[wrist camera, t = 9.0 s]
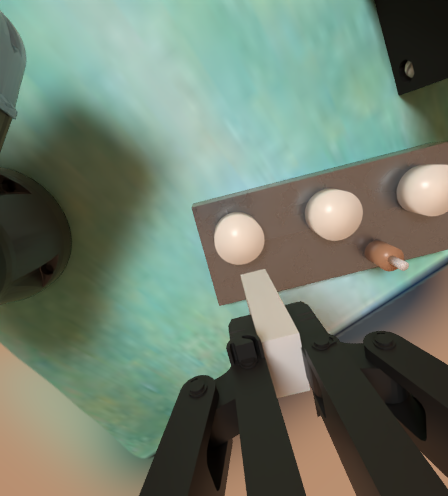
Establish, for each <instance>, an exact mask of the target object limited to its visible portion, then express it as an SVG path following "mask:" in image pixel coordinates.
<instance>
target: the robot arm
mask: <svg viewBox="0 0 448 496" xmlns="http://www.w3.org/2000/svg"><path fill="white" fill-rule="evenodd" d="M25 67H26V51H25V47H24V44H23V41H22V39H21V37H20V35H19V33H18V32H17V30H16V29H15V27H14V26H13V24H12V23H11V22H10V20H9V19H8V18H7V17H6V16H5V15H4V14H3V13H2V12H1V11H0V152H1V149H2V146H3V144H4V141H5V138H6V135H7V132H8V129H9V127H10V124H11V121H12V118H13V119H16V117H17V111H16V109H15V106H16V102H17V98H18V94H19V89H20V85H21V82H22V78H23V75H24V71H25ZM70 252H71V233H70V228H69V225H68V222H67V219H66V217H65V215H64V213H63V211H62V209H61V207H60V206H59V204H58V203H57V202H56V200H55V199H54V198H53V197H52V196H51V194H50V193H49V192H48V191H47V190H45V189H44V188H43V187H42V186H41V185H40V184H38V183H37V182H35V181H34V180H32V179H31V178H29V177H27V176H25V175H23V174H21V173H19V172H16V171H13V170H10V169H6V168H2V167H0V305H2V304H6V303H10V302H14V301H18V300H22V299H25V298H28V297H30V296H33V295H35V294H37V293H39V292H40V291H42V290H43V289H44V288H46V287H47V286H48V285H50V284H51V283H52V282H54V281H55V280H56V279H57V278H58V277H59V276H60V275H61V273H62V272H63V270H64V269H65V267H66V265H67V263H68V260H69V257H70ZM240 276H241V280H242V284H243V288H244V292H245V296H246V300H247V304H248V308H249V312H250V315H247V316H243V317H239V318H235V319H232V320H231V322H230V324H229V326H228V327H229V335H230V341H229V342H228V343H227V348H226V349H227V352H228V356H229V359H230V363H231V367H230V369H229V370H228V371H227V372H226V373H225V374H224V375H222V376H221V377H219V378H217V379H215V380H213V378H211V377H210V376H206V375H200V376H196V377H194V378H192V379H190V380H188V381H187V382H186V383H185V384H184V385H183V387H182V389H181V390H180V393H179V396H178V398H177V401H176V403H175V406H174V408H173V411H172V413H171V416H170V418H169V421H168V424H167V426H166V429H165V431H164V434H163V436H162V439H161V441H160V444H159V446H158V449H157V451H156V454H155V457H154V459H153V462H152V464H151V467H150V469H149V472H148V475H147V477H146V479H145V482H144V485H143V487H142V490H141V492H140V495H139V496H224V495H225V489H226V482H227V476H228V469H229V461H230V456H231V449H232V438H233V437H235V436H236V435H238V434H240V440H241V449H242V457H243V466H244V473H245V482H246V491H247V496H306V494H305V490H304V487H303V483H302V480H301V477H300V473H299V470H298V467H297V463H296V460H295V456H294V453H293V450H292V446H291V443H290V440H289V436H288V433H287V430H286V426H285V423H284V420H283V416H282V413H281V409H280V406H279V403H278V399H277V398H281V397H285V396H289V395H293V394H298V393H301V392H306V391H310V387H309V384H310V386H311V388H312V390H313V395H314V399H315V405H316V410H317V415H318V416H320V414H321V417H322V419H323V421H324V423H325V425H326V428H327V430H328V432H329V434H330V437H331V439H332V441H333V444H334V446H335V448H336V450H337V453H338V455H339V457H340V460H341V462H342V464H343V466H344V469H345V471H346V473H347V475H348V477H349V480H350V482H351V484H352V486H353V489H354V491H355V493H356V496H448V489H447V488H446V486H445V485H444V483H443V482H442V480H441V479H440V478H439V476H438V475H437V474H436V472H435V471H434V470H433V468H432V467H431V465H430V464H429V463H428V461H427V460H426V459H425V457H424V456H423V454H424V455H425V456H426V457H427V458H428V459H429V460H430V461H431V462H432V463H433V464H434V465H435V466H436V467H437V468H438V469H439V470H440V471H441V472H442V473H443V474H444V475H445V476H447V477H448V365H447V364H445V363H444V362H442V361H440V360H439V359H437V358H435V357H434V356H432V355H430V354H429V353H427V352H425V351H424V350H422V349H420V348H419V347H417V346H415V345H414V344H412V343H410V342H409V341H407V340H405V339H404V338H402V337H400V336H399V335H396V334H394V333H391V332H386V331H376V332H372V333H369V334H368V335H366V336H365V338H364V340H363V344H362V343H361V344H360V343H359V344H350V343H343V342H340V341H339V339H337V338H336V337H335V336H333V335H331V334H328V333H327V331H326V330H325V328H324V327H323V326H322V324H321V323H320V321H319V320H318V318H317V317H316V316H315V314H314V313H313V311H312V310H311V308H310V307H309V306H308V305H307V304H305V303H303V302H301V301H300V302H296V303H292V304H288V305H284V304H283V302H282V300H281V298H280V296H279V294H278V292H277V290H276V289H275V287H274V285H273V283H272V281H271V279H270V277H269V275H268V274H267V272H266V270H265V269H262V270H258V271H254V272H250V273H246V274H242V275H240ZM420 451H421V452H422V453H423V454H422V453H421V452H420Z"/></svg>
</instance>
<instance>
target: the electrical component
mask: <svg viewBox="0 0 448 496" xmlns="http://www.w3.org/2000/svg"><path fill="white" fill-rule="evenodd" d="M374 1H375V5H376V9H377V13H378V17H379V20H380V24H381V28H382V32H383V36H384V40H385V44H386V48H387V52H388V56H389V59H390V63H391V67H392V71H393V75H394V79H395V83H396V87H397V91H398V95H402V94H404V93H407V92H410V91H413V90H416V89H419V88H421V87H424V86H427V85H430V84H433V83H436V82H438V81H441V80H444V79H447V78H448V0H374Z"/></svg>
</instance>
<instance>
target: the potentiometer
mask: <svg viewBox="0 0 448 496" xmlns="http://www.w3.org/2000/svg"><path fill="white" fill-rule="evenodd" d="M365 257H366V258H367V260H369V261H371V262H372V263H374V264H375V265H377V266H379V267H380V268H382V269H384V270H386V271H394V270H396V269H398V268H399V269H400V270H403V271H404V270H406V269H408V267H409V264H408V263H407V262H405V261H403V260H404V254H403V252H402V251H401V250H400V249H398V248H396V247H394V246H392V245H390V244H387V243H385V242H383V241H381V240H375V241H372V242H370V243H369V244H368V245H367V246H366V248H365Z"/></svg>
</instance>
